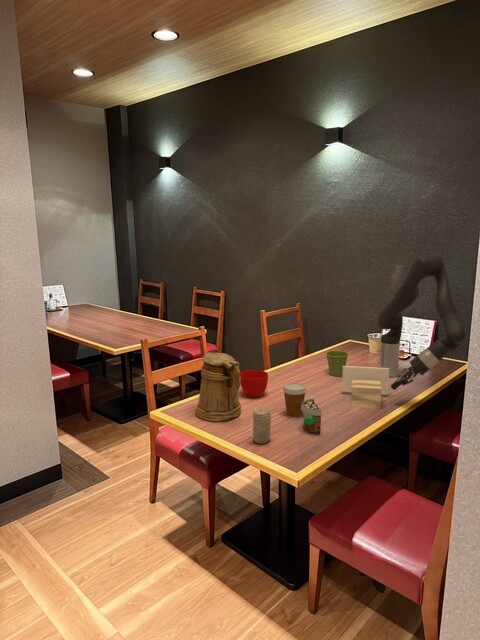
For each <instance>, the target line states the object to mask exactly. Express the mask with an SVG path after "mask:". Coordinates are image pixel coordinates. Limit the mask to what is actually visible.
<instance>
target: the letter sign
mask: <svg viewBox="0 0 480 640" xmlns="http://www.w3.org/2000/svg"><path fill="white" fill-rule="evenodd" d="M389 378H390V377H389V368H379V367H371V366H355V365H354V366H351V365H346V366H343V376H342V384H341V386H342V387H341V395H351V396H352V379H358V380H374V381H380V382H381V398H388V396H389Z"/></svg>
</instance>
